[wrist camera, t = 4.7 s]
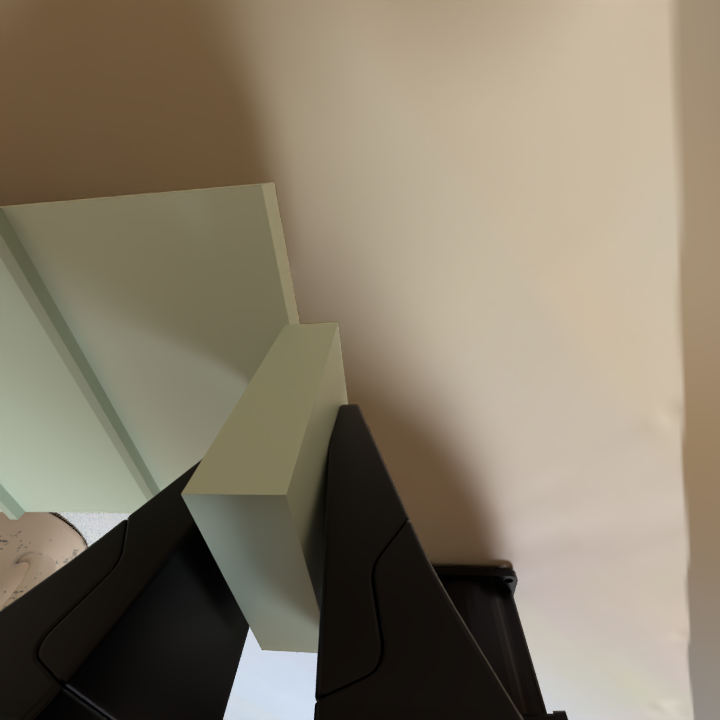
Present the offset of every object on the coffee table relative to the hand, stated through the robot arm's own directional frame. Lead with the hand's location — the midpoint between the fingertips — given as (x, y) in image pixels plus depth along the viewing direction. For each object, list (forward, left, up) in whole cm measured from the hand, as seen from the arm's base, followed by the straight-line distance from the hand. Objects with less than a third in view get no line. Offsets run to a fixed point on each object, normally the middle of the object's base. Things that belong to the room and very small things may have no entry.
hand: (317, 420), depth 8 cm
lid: (+8, 0, -2) cm, 8 cm away
